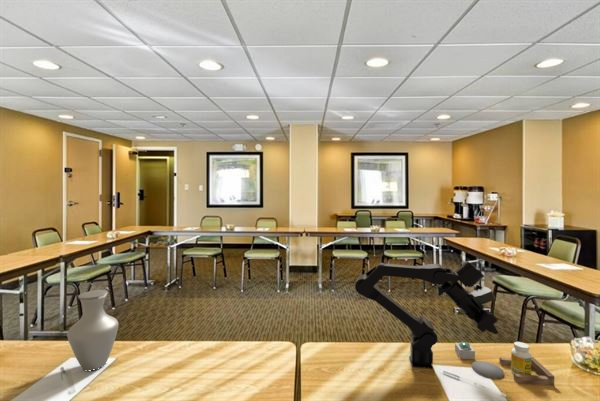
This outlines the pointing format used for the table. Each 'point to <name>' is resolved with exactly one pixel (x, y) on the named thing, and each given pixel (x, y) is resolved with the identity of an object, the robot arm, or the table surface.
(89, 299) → the vase
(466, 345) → the plunger
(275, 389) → the table surface
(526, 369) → the supplement bottle
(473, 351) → the plunger block
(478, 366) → the rubber pad
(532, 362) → the housing rails
